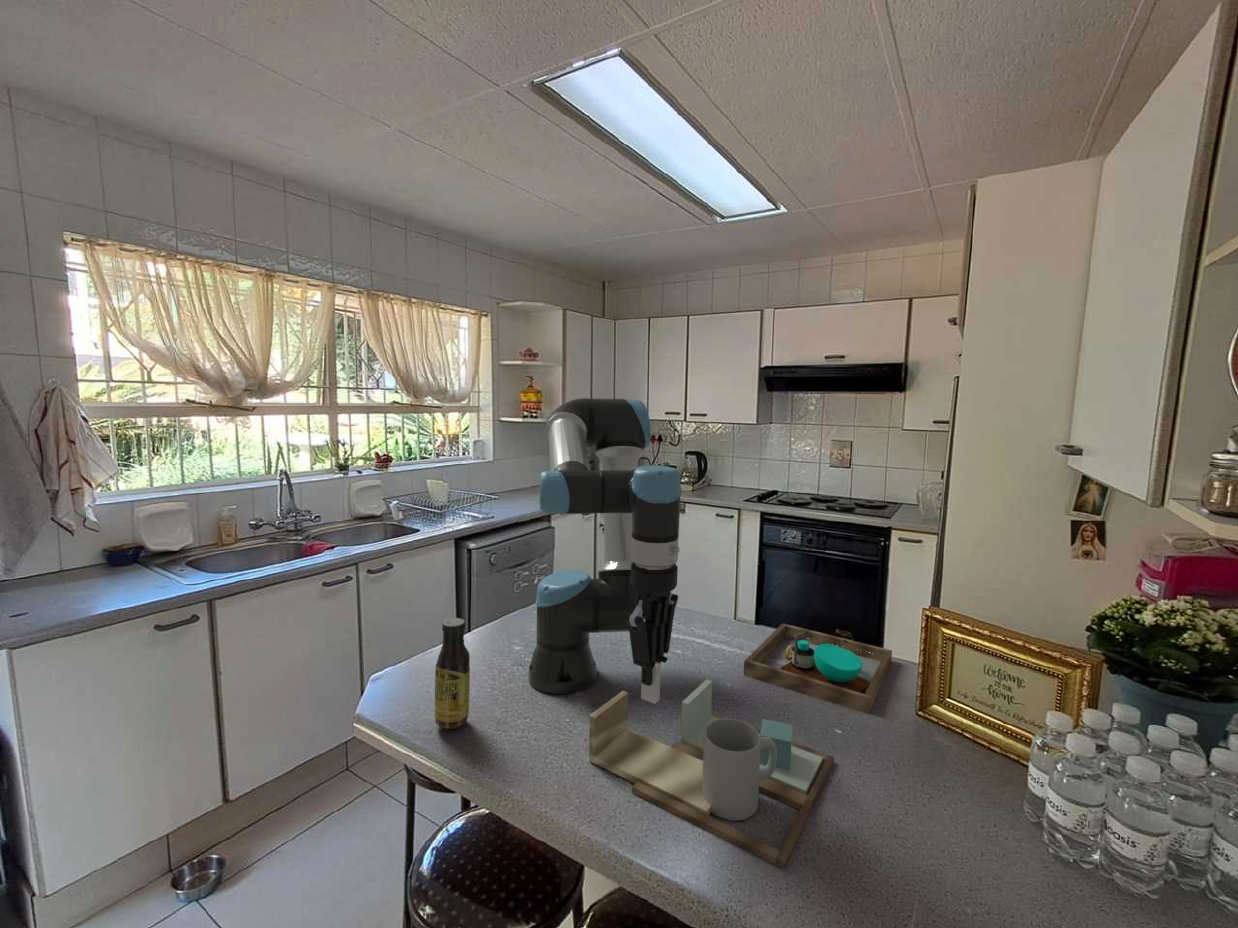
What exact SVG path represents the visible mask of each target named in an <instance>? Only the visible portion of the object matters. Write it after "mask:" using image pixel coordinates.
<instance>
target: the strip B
mask: <svg viewBox="0 0 1238 928" xmlns="http://www.w3.org/2000/svg"><path fill="white" fill-rule="evenodd" d="M712 703H713V680H710V679H709V678H708V679H705V680H704V681H703V682H702V683H701V684H700V685H698V687H697V688H695V689H694V691H692V692H691V693H690V694H689V695H688V696H687V697H685V698H684V700H682V702H681V721H680V723H681V726H680V742H681V743H684V744H686V745H689V746H691V747H693V748H696V749H698V750H701V751H704V731H705V728H706V726H707V725H708V724H709V723H711V722H712V721H715V720H718V719H719V718H716V717H713V716H711V712H712ZM759 735H760V734H759ZM822 763H823V757H821V756H818V755H815V754H813V753H810V752H807V751H805V750H802V749H799V748H797V747H794V746H791V760H790V770H786V769H781V768H777V767H776V768H775V770H774V773H773V774H772V775H771V776H770V777H768V779H770V780H773V781H775V782H777V783H780V784H782V785H785V786H787V787H789V788H792V789H794V790H797V791H799V792H801V793H804V794H806V795H808V794H809V792H810V790H811V788H812V786H813V784H814V782H815V780H816V778H817V776H818V774H819V772H820V770H821V768H822V766H823V764H822ZM765 766H766V765H764V764H760V768H763V767H765ZM760 768H759V769H760Z"/></svg>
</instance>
